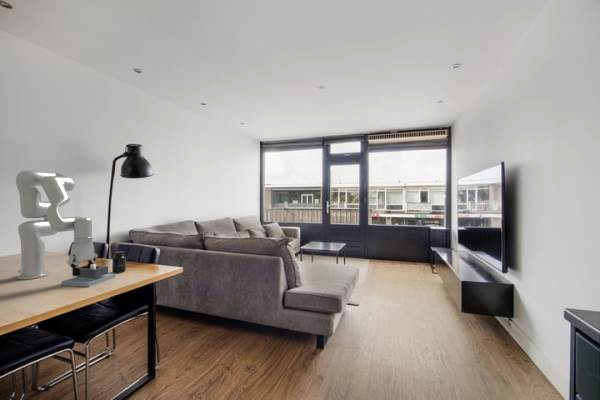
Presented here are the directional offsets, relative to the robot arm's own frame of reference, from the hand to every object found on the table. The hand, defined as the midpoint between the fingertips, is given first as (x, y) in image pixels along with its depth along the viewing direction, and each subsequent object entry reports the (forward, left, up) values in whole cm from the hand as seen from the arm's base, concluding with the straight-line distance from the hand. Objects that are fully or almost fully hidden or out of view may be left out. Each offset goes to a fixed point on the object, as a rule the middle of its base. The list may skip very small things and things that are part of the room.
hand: (83, 272), depth 143 cm
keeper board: (+4, 0, -4) cm, 6 cm away
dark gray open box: (+5, 0, -1) cm, 5 cm away
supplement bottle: (+5, +18, -5) cm, 19 cm away
